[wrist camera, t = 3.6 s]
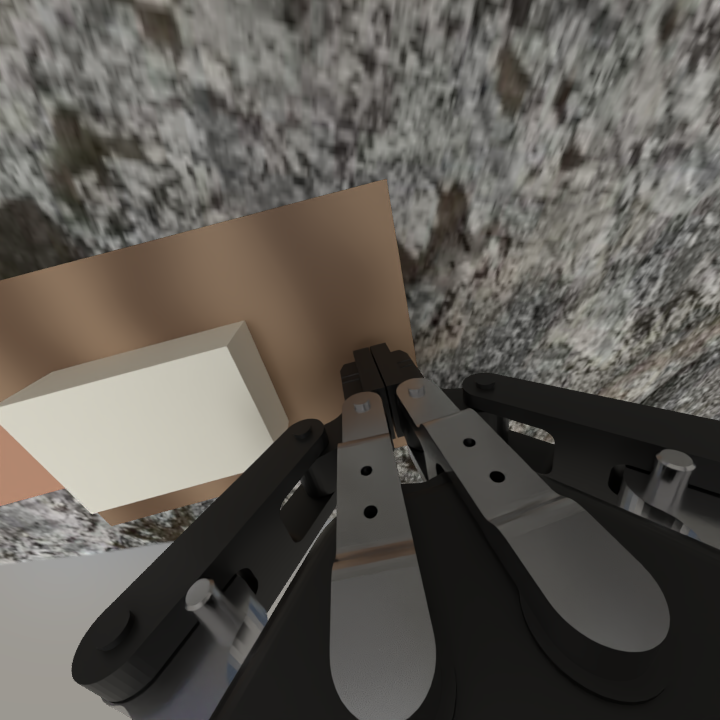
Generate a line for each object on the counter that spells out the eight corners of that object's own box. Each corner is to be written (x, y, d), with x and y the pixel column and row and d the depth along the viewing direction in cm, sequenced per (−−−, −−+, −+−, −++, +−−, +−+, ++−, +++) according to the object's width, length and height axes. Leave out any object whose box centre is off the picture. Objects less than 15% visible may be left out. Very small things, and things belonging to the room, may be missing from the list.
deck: (370, 187, 15) (386, 178, 12) (410, 402, 22) (429, 438, 18) (-7, 287, 15) (-108, 308, 12) (145, 474, 21) (111, 526, 18)
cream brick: (244, 320, 14) (226, 346, 11) (288, 421, 16) (283, 461, 14) (52, 371, 13) (-14, 410, 11) (129, 464, 16) (91, 513, 13)
